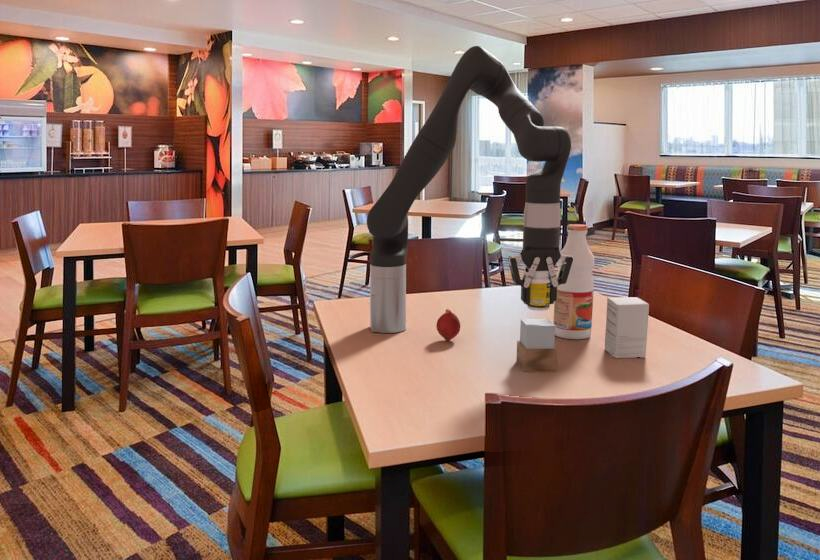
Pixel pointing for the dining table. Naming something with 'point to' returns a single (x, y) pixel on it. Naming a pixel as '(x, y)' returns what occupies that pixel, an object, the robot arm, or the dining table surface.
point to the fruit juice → (575, 288)
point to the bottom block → (536, 359)
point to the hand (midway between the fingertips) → (538, 303)
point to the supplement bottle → (539, 291)
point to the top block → (537, 333)
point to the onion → (448, 325)
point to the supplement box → (626, 327)
